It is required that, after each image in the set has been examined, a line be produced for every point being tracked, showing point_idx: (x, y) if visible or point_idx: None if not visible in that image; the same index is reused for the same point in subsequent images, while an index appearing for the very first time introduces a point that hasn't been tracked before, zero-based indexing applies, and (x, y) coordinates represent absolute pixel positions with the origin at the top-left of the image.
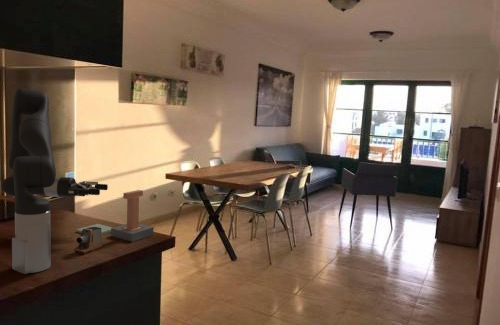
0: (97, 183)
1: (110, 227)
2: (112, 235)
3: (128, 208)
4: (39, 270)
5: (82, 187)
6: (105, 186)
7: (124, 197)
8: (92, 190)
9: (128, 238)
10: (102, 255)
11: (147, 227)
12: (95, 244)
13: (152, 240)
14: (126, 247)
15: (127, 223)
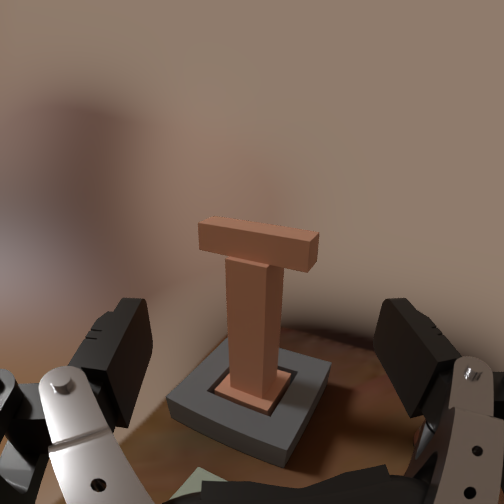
0: (75, 370)
1: (184, 490)
2: (288, 458)
3: (269, 320)
4: None
5: (495, 428)
6: (143, 322)
7: (311, 263)
8: (442, 337)
9: (322, 390)
10: None
11: None
12: None
13: (289, 346)
14: (380, 380)
15: (264, 381)
